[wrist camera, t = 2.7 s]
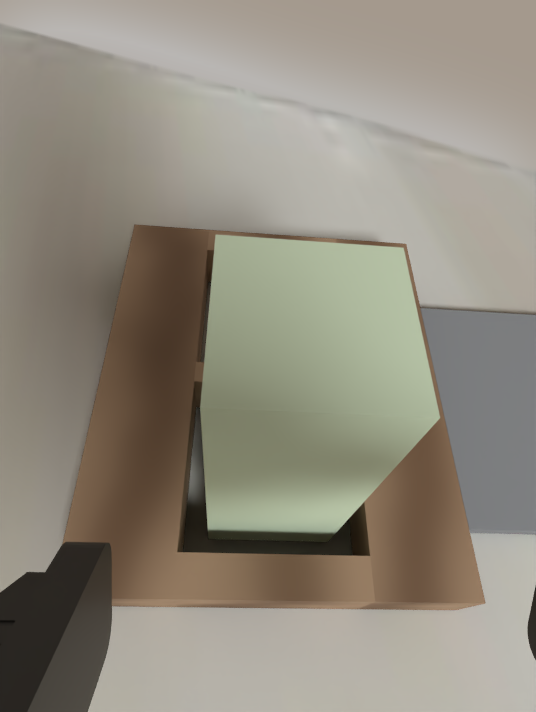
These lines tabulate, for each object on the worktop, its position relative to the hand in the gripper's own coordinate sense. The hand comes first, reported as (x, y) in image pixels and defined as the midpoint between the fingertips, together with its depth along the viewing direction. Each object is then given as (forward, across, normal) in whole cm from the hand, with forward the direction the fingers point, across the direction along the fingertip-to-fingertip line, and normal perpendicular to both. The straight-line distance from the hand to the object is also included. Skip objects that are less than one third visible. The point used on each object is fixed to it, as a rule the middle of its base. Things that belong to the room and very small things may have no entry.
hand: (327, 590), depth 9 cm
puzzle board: (+15, 0, +1) cm, 15 cm away
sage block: (+12, 0, +4) cm, 12 cm away
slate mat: (+15, -13, +1) cm, 20 cm away
